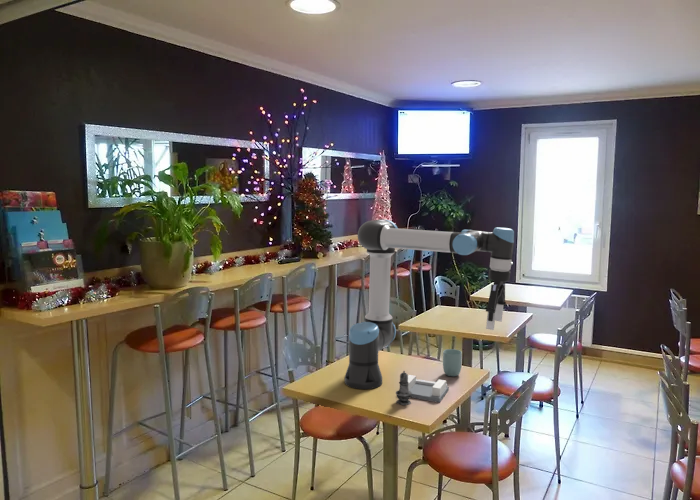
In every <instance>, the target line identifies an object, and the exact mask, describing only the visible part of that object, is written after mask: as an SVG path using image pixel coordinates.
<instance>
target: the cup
mask: <svg viewBox="0 0 700 500" xmlns="http://www.w3.org/2000/svg"><path fill="white" fill-rule="evenodd" d="M462 359H463V352H462V350H460V349H456V348H455V349H453V348H448V349H446V348H445V349H444V350H443V351H442V368H443V369H442V370H443V372H444V374H445V375H446V376H448V377H457V376H459V375H460V373H461V370H462V362H463V360H462Z"/></svg>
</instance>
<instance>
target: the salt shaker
mask: <svg viewBox="0 0 700 500" xmlns="http://www.w3.org/2000/svg"><path fill="white" fill-rule="evenodd" d="M408 375H409V374H408V373H407V372H406V371H405V370H403V371H402V372H401V373H400V375H399V382H398V384H399V388H398V390H396V391H395V395H396V396H395V397H396V398H397V399H396V401H395V402H396V404H397V405H399V406H410V405H411V404H412V403H411V400H410V399H411V394H412V393H411V392H410V391H408V384H409V382H408Z"/></svg>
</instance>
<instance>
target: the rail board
mask: <svg viewBox="0 0 700 500" xmlns="http://www.w3.org/2000/svg"><path fill="white" fill-rule="evenodd" d="M408 382H409V384H408V391H410V392H411V393H412V394H411V397H410V399H411V398H413V399H419V400H423V401H429V402H434V403H441V401H442V400H443V398H444V397H445V396H446V395H447V393H449V390H450V389H449V388H450V386H448V383H447V380H444V379H440V378H439V379H437V381H431V380H424V379H420V378H419V379H417V375H413V374H408Z"/></svg>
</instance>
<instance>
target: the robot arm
mask: <svg viewBox="0 0 700 500" xmlns="http://www.w3.org/2000/svg"><path fill="white" fill-rule="evenodd" d="M357 239H358V242H359V244H360V246H362V248H364V249H366V253H367V254H368V255H369V282H368V283H369V286H368V287H369V288H368V289H369V290H368V291H369V292H368V295H369V296H368V312H367V313H366V314H365V316H364V321H361V322H358V323H357V322H356V323H355V324H353V325H352V326H350V328H349V331H348V333H349V334H348V366H347V369H346V372H345V375H344V384H345V385H346V386H347V387H349V388H351V389H355V390H356V389H357V390H370V389H375V388H379V387H381V386H382V384H383V375H382V371H381V368H380V365H379V352H380V350H382V349H384V348H387V347H388V346H390V345H391V343H392V342H393V341H394V340H395V338H396V334H397V328H396V325H395V323H394V322H393V319H394V318H393V316H392V315H391V314H390V298H391V297H390V296H391V295H390V294H391V292H390V291H391V264H392V261H391V259H392V256H394V254H395V253H396V249H398V250H399V249H400V250H402V249H403V250H414V251H425V252H426V251H427V252H440V253H449V254H450V253H453V254H458V255H460V256H468V255H471V254H473V253H475V252H485V253H490V260H489V261H490V262H489V268H490V269H489V271H488V279H489V280H490V281H493V284H491V286H490V291H489V296H488V297H489V298H488V302H487V307H486V309H485V312H486V313H487V317H486V325H485V326H486V327H485V329H486V330H491V331H494V330H495V322H502V321H503V315H504V312H503V311H504V305H506V304H507V302H506V282H509V281H510V278H511V267H512V265H513V264H514V263H513V261H512V259H513V258H512V257H513V251H514V243H515V230H514V229H513V228H508V227H494V229H493V230H492V231H484V230H483V231H482V230H473V229H462V230H461V232H458V231H441V230H428V229H427V230H424V229H411V228H398V226H397V224H396V223H394V222H393V221H391V220H390V219H381V218H380V219H376V220H368V221H366V222H364V223H363V224H362V225H361V226H360V227H359V228H358V231H357Z"/></svg>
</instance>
